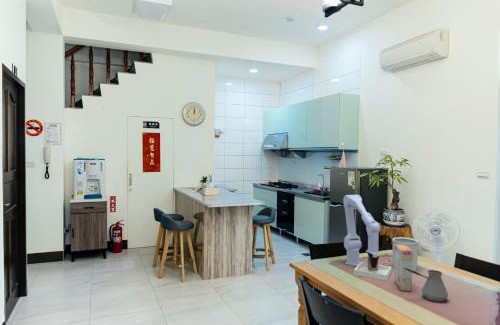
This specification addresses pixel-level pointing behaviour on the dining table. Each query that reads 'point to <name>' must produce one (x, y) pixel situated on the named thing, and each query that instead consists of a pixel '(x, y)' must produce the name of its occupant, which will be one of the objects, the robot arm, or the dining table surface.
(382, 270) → the tray
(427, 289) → the coffee pot
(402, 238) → the utensil holder
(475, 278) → the dining table surface
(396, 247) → the cracker box
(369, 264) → the walnut block
